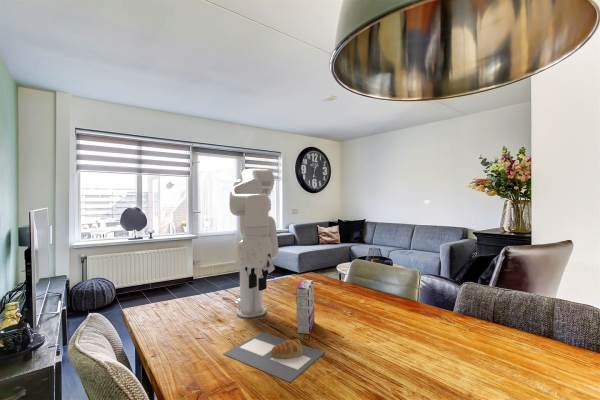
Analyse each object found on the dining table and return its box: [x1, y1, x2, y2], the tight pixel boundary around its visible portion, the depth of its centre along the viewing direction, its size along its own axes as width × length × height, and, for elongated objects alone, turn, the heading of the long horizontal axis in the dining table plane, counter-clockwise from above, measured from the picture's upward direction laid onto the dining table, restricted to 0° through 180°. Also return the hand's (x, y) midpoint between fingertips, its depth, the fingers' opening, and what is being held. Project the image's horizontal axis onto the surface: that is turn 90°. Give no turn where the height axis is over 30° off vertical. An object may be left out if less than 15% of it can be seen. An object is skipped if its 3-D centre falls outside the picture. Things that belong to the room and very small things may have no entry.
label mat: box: [222, 331, 325, 384], centre depth 90 cm, size 26×18×1 cm
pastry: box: [271, 338, 303, 359], centre depth 89 cm, size 9×7×4 cm
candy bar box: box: [295, 279, 315, 335], centre depth 108 cm, size 11×5×16 cm, turn 168°
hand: (257, 288), depth 94 cm, fingers open, 3 cm apart
